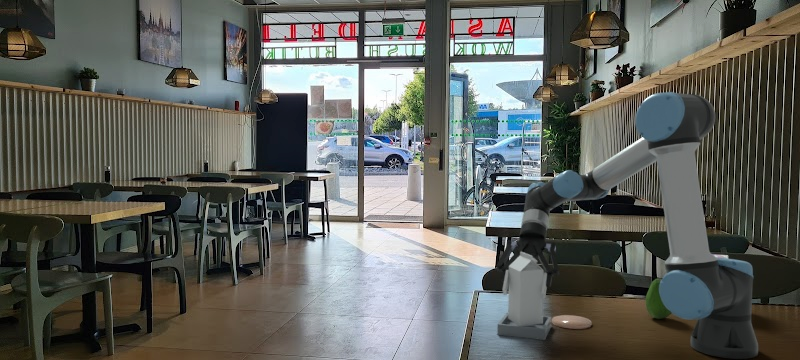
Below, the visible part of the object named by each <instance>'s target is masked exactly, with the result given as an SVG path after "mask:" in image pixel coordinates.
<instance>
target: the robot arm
mask: <svg viewBox="0 0 800 360" xmlns="http://www.w3.org/2000/svg"><path fill="white" fill-rule="evenodd" d="M634 119H635V121H634V122H635V123H634V124H635V129H636V131H637V133H638V134H639V135H640V137H641V138H639V139H638V140H636V141H635V142H633V143H631V144H630V145H628V146H627V147H625V148H624V149H622V150H621V151H619V152H617V153H616V154H615V155H613V156H611V157H610V158H608V159H607V160H606V161H605V160H604V162H602V163H601V164H599V165H598V166H596V167H594V168H593V169H592V170H590V171H589V172H587V173H585V174H579V173H578V172H576V171H574V170H571V169H568V170H565V171H563V172H560V173H558V174H557V175H556V176H554V177H553V178H552V179H550V180H548V181H547V182H542V181H538V182H533V183H531V184H530V185H529V186H528V188H527V192H526V195H525V201H524V206H523V207H524V208H523V214H522V220H521V224H520V225H521V226H520V231H519V235H518V236H519V237H518V239H517V241H512V240H511V239H508V240H507V242H506V247H505V249H504V250H503V253H502V254H501V257H499V260H498V262H497V264H496V269H497V272H498V273H501V276H500V282H501V284H503V285H502V293H503V296H507V294H508V291H509V266H510V265H511V264H512V263H513V262H514V261H515V260H516V259H517V258H518V257H519V256H520V252H524V253H526V254H529V255H531V256H533V258H536V257H537V259H538V260H539V262H540V263H541V266H542V267H543V268H542V269H543V270H544V278H543V285H542V299H543V300H545V299H546V294H547V288H550V287H551V286H552V282H553V280H552V279H553V278H554V277H559V276H560V269H559V265H558V260H557V255H556V251H557V248H556V247H557V246H556V243H555V242H551V243H547V242H546V240H547V235H548V233H547V232H548V227H549V219H550V211H552V210H553V209H555V208H556V207H558V206H560V205H562V204H563V203H566V202H576V201H590V200H593V201H594V200H599V199H603V198H605V197H606V196H607V195H608V194H609V193H610V190H611V189H613V188H615V187H616V186H618V185H620V184H621V183H623V182H624V181H626V180H628V179H629V178H631V177H632V176H634V175H636V174H637V173H639V172H641V171H643V170H644V169H647V167H649V166H651V165H653V164H654V163H656V164H657V171H658V178H659V185H660V193H661V199H662V205H663V206H662V207H663V212H664V213H663V214H664V220H665V227H666V234H667V240H668V247H669V253H670V254H669V256H668V258H667V259H666V260H665V261H664V268H665V274H664V276H662V278H661V279H662V280H661V281H660V285H659V294H660V297H661V300H662V302H663V304H664V305H665V307H666V308H667V309H668V310H669V311H671V312H672V313H671V314H673V315H674V316H675V317H677V318H680V319H683V320H689V321H690V320H697V321H696V323H695V325H694V326H693V327H694V328H693V330H692V332H691V334H690V346H691V348H692V349H693V350H694V351H697V352H699V353H702V354H705V355H708V356H713V357H718V358H724V359H733V360H734V359H735V360H743V359H744V360H746V359H754V358H755V357H757V356H758V354H759V343H758V340H757V338H756V333H755V330H754V328H753V324H752V308H753V307H752V302H753V286H754V285H753V284H754V283H753V282H754V275H753V273H754V270H753V265H752V264H751V263H750V262H748V261H745V260H739V259H734V258H729V259H727V258H720V257H715V256H714V255H712V254H713V253H711V251H710V247H709V241H708V234H707V228H706V222H705V221H706V220H705V213H704V208H703V202H702V201H703V199H702V193H701V188H700V187H701V186H700V181H699V180H700V179H699V174H698V167H697V161H696V160H697V159H696V153H695V152H696V151H697V149H698V148H699V147H700V146H701V140H702V139H704V138H705V137H707V135H708V134H709V133H710V132H711V131H712V130H713V128H714V125H715V122H716V112H715V109H714V106H713V105H712V103H711V102H710V101H709V100H708V99H707V98H705V97H704V96H702V95H698V94H693V93H688V94H687V93H678V92H673V91H666V92H658V93H654V94H651V95H649V96H648V97H646V98H645V99H644V100H643V101H642V103H641V104H640V106H638V107H637V111H636V114H635V118H634ZM516 247H517V249H516V251H515V253H514V254H513V255H512V252H513V250H514V249H515V248H516ZM546 250H547V251H548V252H549V253H550V258H551V262H552V263H551V264H552V268H553V269H551V267H550V265H549V263H548V261H547V259H546V257H545V255H544V254H543V252H544V251H546ZM511 255H512V256H511ZM510 256H511V257H510ZM509 258H510V259H509Z"/></svg>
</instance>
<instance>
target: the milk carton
mask: <svg viewBox="0 0 800 360" xmlns="http://www.w3.org/2000/svg"><path fill="white" fill-rule="evenodd" d="M538 262H539V261H538V260H537V259H536V257H533V256H531V255H529V254H526V253H524V252H520V256H519V257H518V258H517V259H516V260H515V261H514V262H513V263H512V264H511V265H510V266H509V284H508V297H507V298H508V299H507V300H508V301H507V302H508V309H507V310H508V312H507V313H508V319H509V320H511V321H513V322H514V323H516V324H517V325H519V326H523V325H535V324H543V316H544V299H542V285H543V278H544V273H545V270H544V268H542V267H541V266H540V265H539V264H538Z"/></svg>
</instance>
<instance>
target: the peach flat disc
mask: <svg viewBox="0 0 800 360" xmlns="http://www.w3.org/2000/svg"><path fill="white" fill-rule="evenodd" d="M592 323H593V322H592V320H590V319H589V318H587V317H584V316H579V315H573V314H572V315H569V314H564V315H561V314H560V315H557V316H556V315H555V316H553V317H552V320H551V324H553V325H554V326H556V327H559V328H563V329H568V330H583V329H588V328H590V327H592V325H593V324H592Z"/></svg>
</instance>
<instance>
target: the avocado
mask: <svg viewBox="0 0 800 360" xmlns="http://www.w3.org/2000/svg"><path fill="white" fill-rule="evenodd" d="M662 279H663V278H655V279H654V280H653V281H652V282H651V283H650V285H649V288H648V291H647V293H646V296H645V308H646V310H647V312H648V315H650V316H651V317H652V318H654V319H657V320H662V319H665V318H667V317H668V318H669V316H670V315H671V314H673V313H672V312H671V311H669V310H668V309H667V308H666V307H665V305H664V304H663V302H662V300H661V297H660V294H659V285H660V281H661V280H662Z"/></svg>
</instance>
